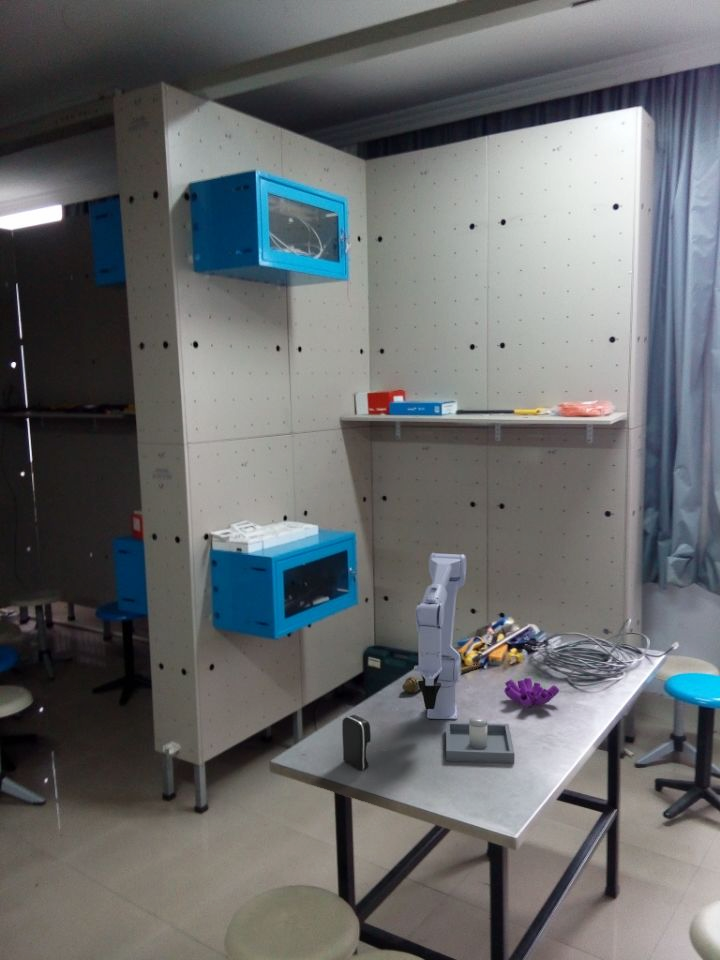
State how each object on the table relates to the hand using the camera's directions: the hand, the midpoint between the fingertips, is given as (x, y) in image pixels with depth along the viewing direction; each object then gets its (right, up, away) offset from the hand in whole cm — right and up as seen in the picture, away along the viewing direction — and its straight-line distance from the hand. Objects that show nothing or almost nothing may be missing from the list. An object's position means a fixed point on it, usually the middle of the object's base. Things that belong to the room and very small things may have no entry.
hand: (430, 702), depth 192 cm
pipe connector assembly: (+29, -7, +21) cm, 37 cm away
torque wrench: (+8, -5, +40) cm, 41 cm away
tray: (+12, -10, -4) cm, 16 cm away
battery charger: (-18, -11, -12) cm, 25 cm away
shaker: (+12, -9, -4) cm, 15 cm away
